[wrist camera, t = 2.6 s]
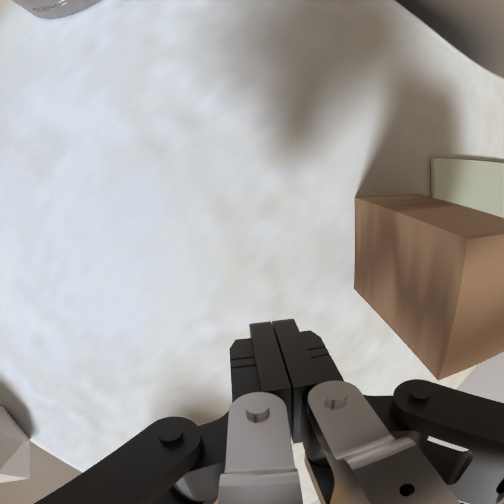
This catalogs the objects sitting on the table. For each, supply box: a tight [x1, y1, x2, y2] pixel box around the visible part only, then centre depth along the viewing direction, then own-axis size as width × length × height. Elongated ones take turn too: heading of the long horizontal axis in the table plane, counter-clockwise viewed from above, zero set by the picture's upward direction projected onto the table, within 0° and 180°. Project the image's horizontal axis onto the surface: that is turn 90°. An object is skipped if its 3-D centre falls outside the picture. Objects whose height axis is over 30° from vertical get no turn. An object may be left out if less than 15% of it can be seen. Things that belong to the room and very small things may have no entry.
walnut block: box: [354, 194, 504, 380], centre depth 14 cm, size 6×5×10 cm
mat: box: [431, 158, 504, 218], centre depth 19 cm, size 11×12×1 cm
